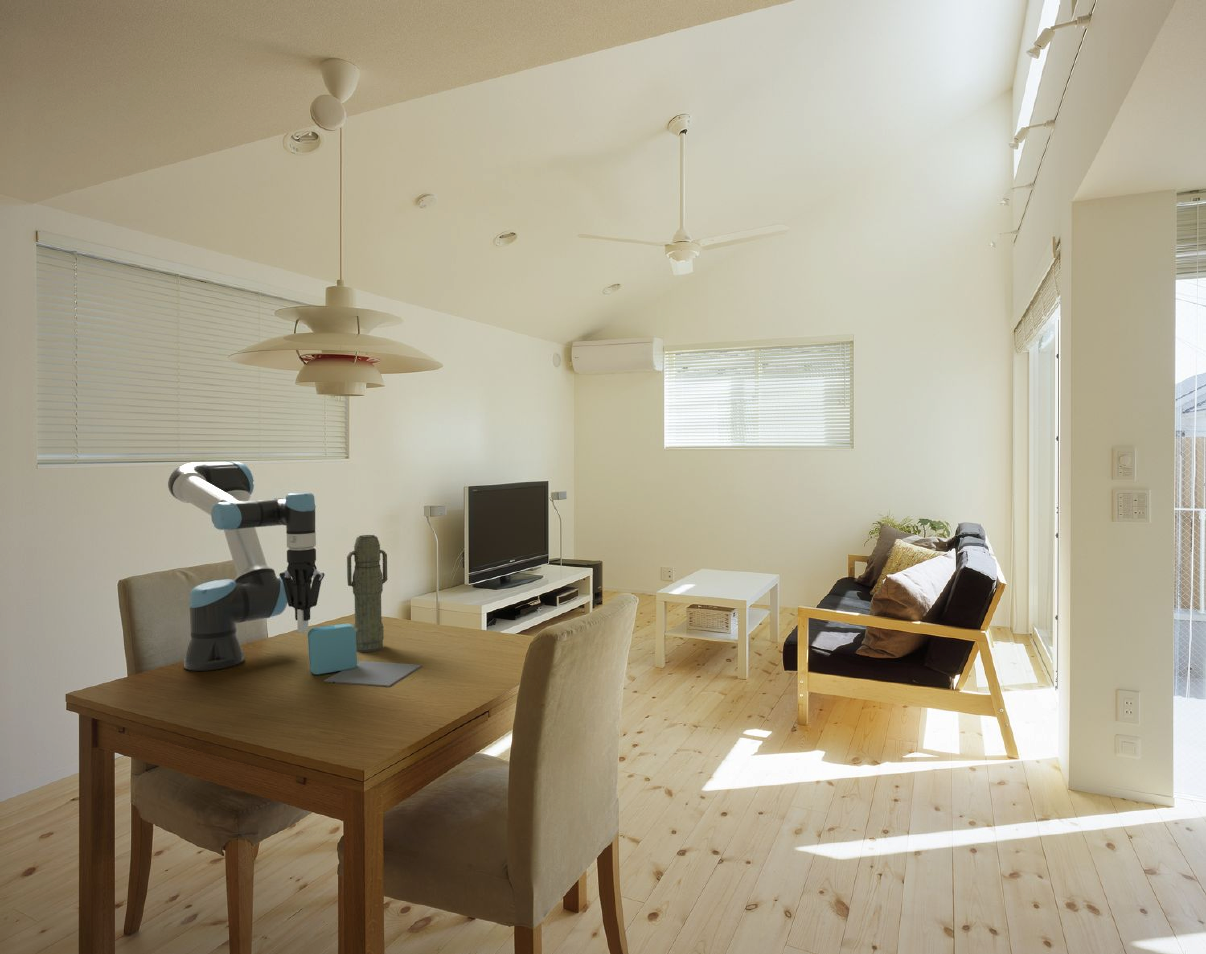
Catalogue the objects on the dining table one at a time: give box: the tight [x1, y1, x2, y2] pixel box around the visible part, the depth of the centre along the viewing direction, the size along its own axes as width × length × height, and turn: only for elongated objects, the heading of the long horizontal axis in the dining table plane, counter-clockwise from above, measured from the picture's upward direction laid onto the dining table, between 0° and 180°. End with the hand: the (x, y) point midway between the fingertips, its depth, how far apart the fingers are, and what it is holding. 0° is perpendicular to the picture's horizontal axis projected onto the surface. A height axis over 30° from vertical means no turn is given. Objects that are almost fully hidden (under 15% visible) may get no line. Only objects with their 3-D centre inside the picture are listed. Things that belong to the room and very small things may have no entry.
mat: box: [323, 660, 423, 688], centre depth 195 cm, size 19×18×1 cm
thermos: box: [346, 534, 388, 653], centre depth 220 cm, size 9×12×35 cm
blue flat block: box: [307, 623, 358, 676], centre depth 198 cm, size 12×4×12 cm, turn 118°
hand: (303, 631), depth 200 cm, fingers closed
